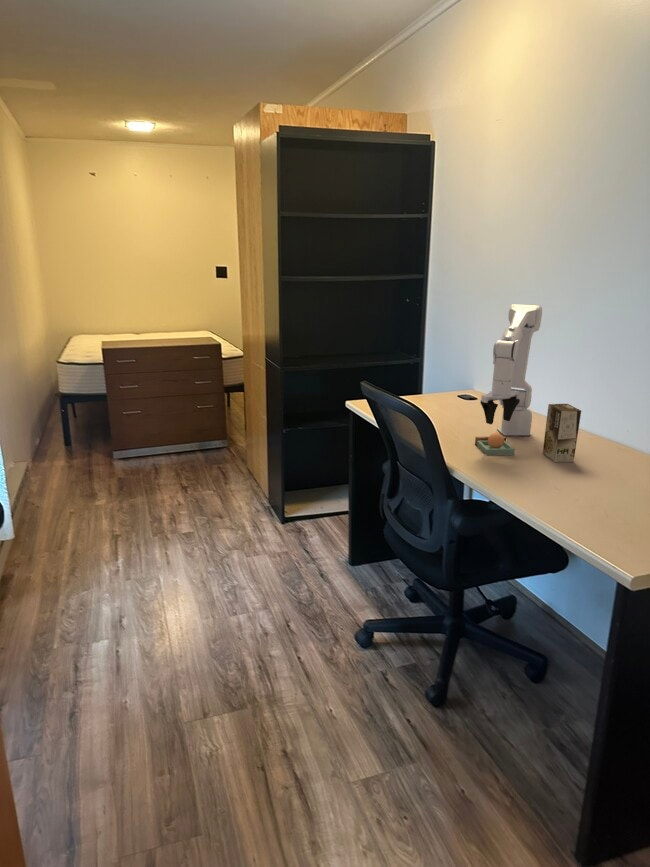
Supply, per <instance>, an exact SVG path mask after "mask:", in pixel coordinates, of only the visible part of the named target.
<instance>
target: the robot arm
mask: <svg viewBox="0 0 650 867" xmlns="http://www.w3.org/2000/svg"><path fill="white" fill-rule="evenodd" d="M542 316H543V307H542V306H541V305H539V304H538V305H533V304H517V303H512V304H511V305H510V306H509V310H508V321H509V324H510V326H507V327H506V328H505V329H504V330H503V332H502V334H501V337H500V339H499V340H497V341H495V342H494V344H493V351H492V356H493V361H492V364H493V366H494V367H493V374H492V383H491V390H490V391H489V393H486V394H482V395H481V397H480V398H481V399H480V405H481V407H482V409H483V413H484V418H485V423H486V424H489V425H493V424H494V418H495V414H496V410H497V408H498V406H499V405H500V406H501V408H502V418H501V426H500V427H497V428H496V430H497V431H498V432H500V433H501V435H502V436H504V437H507V436H509V437H510V436H532V434H531V429H532V422H533V421H532V420H533V412H532V410H531V408H530V405H531V403H532V394H533V392H532V391H533V389H532V388H533V387H532V386H531V385H530V384H529V382H527V381H526V374H527V369H528V367H527V366H528V362H529V355H530V349H531V343H532V337H533V336H534V333H535V332H538V331H539V330H540V328H541V324H542V323H541V322H542ZM495 401H498V402H499V404H498V403H495Z"/></svg>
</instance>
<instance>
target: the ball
mask: <svg viewBox="0 0 650 867" xmlns="http://www.w3.org/2000/svg"><path fill="white" fill-rule="evenodd" d="M487 437H488V444H489V446H490V447H491V448H494V449H498V448H500V447H502V445H503V444H504V438H503V437H504V435H503V434H502V433H501V434H500V433H498V432H494V433H491V434H490V435H489V436H487Z"/></svg>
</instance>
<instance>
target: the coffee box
mask: <svg viewBox="0 0 650 867" xmlns="http://www.w3.org/2000/svg"><path fill="white" fill-rule="evenodd" d="M547 406H548V407H547V415H546V423H545V430H544V431H545V432H544V439H543V448H542V454H543V455H545V456H546V457H548V458H549V459H551V460H552V461H553V462H555V463H558V462H559V463H560V462H562V463H565V462H566V463H567V462H568V463H573V462H574V461H575V457H576V456H575V455H576V449H577V441H578V435H579V428H580V424H581V423H580V420H581V414H582V410H581V409H579V408H577V407H575V406H574V405H571V404H569V403H552V404H551V403H548V405H547Z"/></svg>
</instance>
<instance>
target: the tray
mask: <svg viewBox="0 0 650 867" xmlns="http://www.w3.org/2000/svg"><path fill="white" fill-rule="evenodd" d="M476 447H477V448H478V449H479V450H480V451H482V453H483V454H484V455H485V456H507V455H508V456H509V455H510V456H512V455H513V456H514V455H515V448H514V447H513V446H512V445H510V443H508V442H507V440H506V441H504V444H503V445H502V447H500V448H498V449H494V448H491V447H490V446H489V444H488V441H477V445H476Z"/></svg>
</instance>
